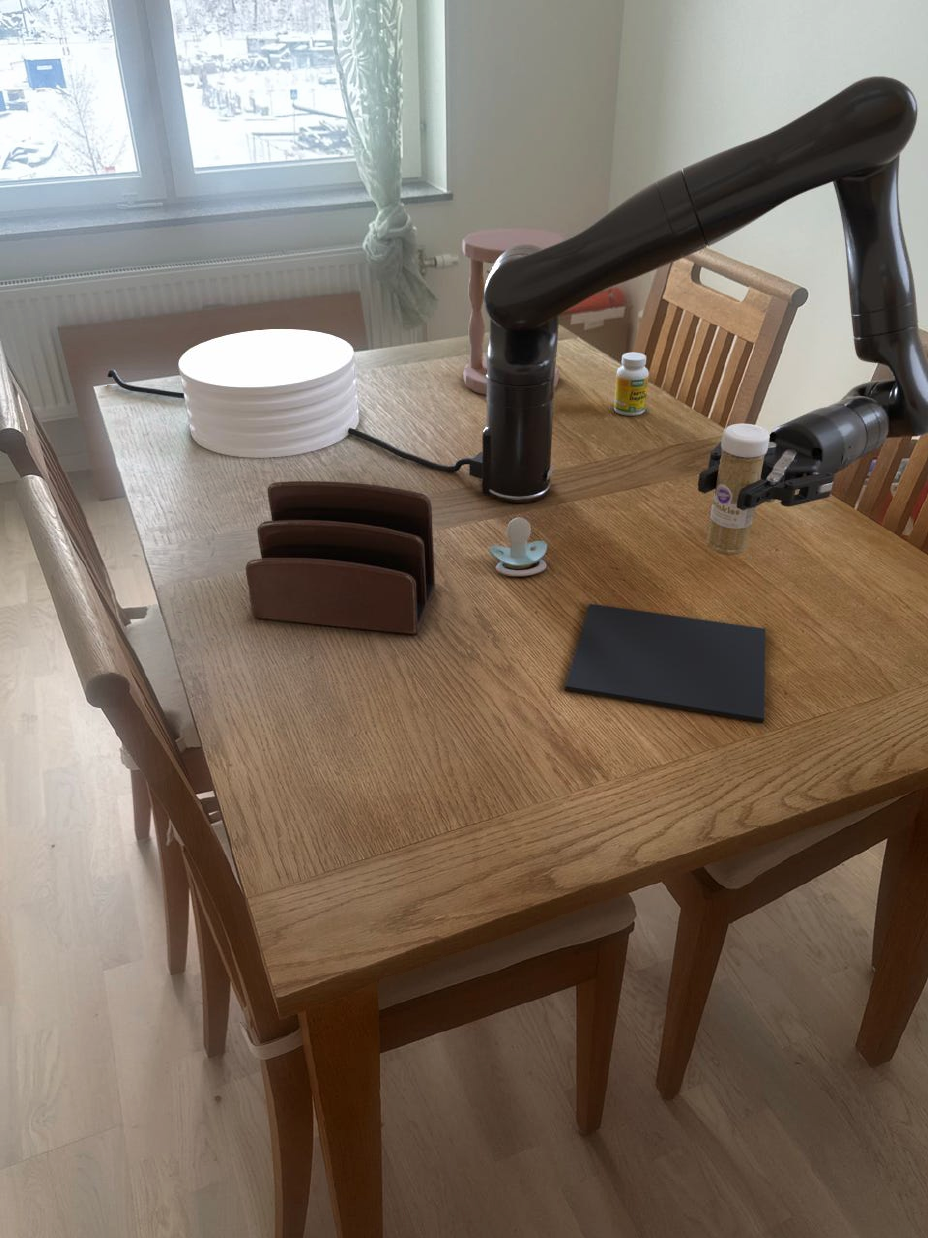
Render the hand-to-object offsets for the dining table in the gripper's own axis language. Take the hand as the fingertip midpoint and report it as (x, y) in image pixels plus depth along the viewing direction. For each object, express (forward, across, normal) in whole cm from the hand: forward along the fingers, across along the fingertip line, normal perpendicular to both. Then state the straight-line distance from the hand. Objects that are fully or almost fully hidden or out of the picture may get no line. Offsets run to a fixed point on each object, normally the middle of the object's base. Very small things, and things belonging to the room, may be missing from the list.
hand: (721, 492), depth 94 cm
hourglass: (-38, -73, +18) cm, 84 cm away
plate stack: (+6, -85, +18) cm, 87 cm away
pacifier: (+6, -24, +18) cm, 30 cm away
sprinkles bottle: (-3, 0, +8) cm, 8 cm away
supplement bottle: (-43, -49, +18) cm, 68 cm away
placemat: (+7, +1, +18) cm, 19 cm away
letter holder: (+27, -31, +18) cm, 45 cm away
